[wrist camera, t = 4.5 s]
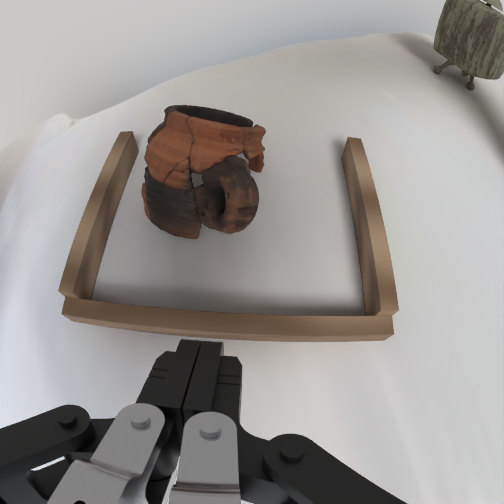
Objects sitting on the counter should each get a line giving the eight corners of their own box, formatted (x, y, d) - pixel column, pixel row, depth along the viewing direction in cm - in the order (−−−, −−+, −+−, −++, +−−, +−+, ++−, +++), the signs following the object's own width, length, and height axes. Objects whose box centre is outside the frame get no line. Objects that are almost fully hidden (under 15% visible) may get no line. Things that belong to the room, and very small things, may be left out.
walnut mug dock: (384, 340, 18) (401, 329, 16) (72, 321, 18) (53, 308, 16) (353, 159, 26) (360, 138, 24) (127, 152, 26) (120, 132, 24)
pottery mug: (124, 194, 24) (137, 98, 20) (217, 189, 30) (239, 109, 26) (176, 287, 17) (204, 143, 13) (296, 262, 23) (338, 158, 18)
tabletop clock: (461, 71, 43) (494, -24, 21) (493, 97, 39) (533, 0, 17) (423, 68, 40) (456, -48, 18) (460, 98, 36) (506, -26, 14)
